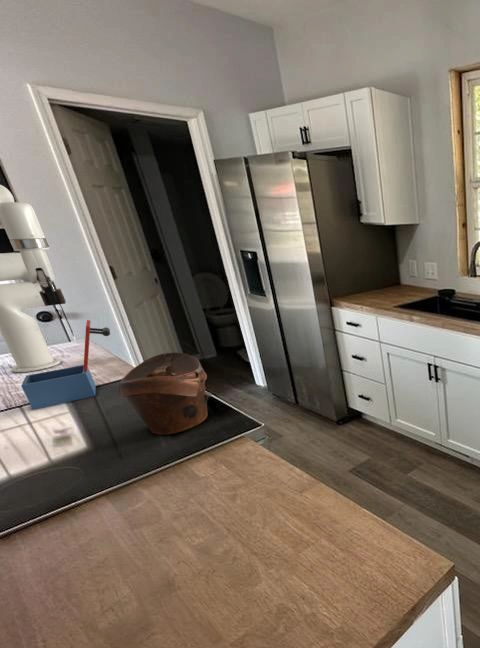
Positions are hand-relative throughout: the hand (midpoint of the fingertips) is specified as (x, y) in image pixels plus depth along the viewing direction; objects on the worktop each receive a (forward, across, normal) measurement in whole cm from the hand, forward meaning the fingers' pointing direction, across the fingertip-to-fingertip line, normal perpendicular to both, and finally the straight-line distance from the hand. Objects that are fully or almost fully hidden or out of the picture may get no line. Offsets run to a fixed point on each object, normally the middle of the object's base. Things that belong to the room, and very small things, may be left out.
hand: (55, 302), depth 133 cm
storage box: (+28, +14, -5) cm, 31 cm away
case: (+28, +64, +18) cm, 73 cm away
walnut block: (0, 0, 0) cm, 0 cm away
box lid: (+12, +14, +4) cm, 19 cm away
